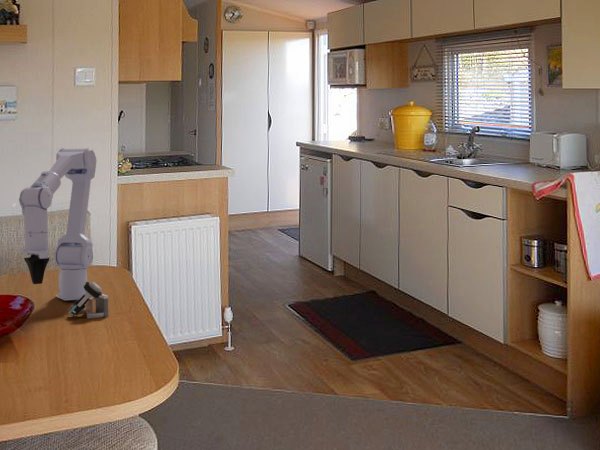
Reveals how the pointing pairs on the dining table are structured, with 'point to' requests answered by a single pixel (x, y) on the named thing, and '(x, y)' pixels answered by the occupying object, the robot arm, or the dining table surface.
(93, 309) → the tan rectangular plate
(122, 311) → the dining table surface
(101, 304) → the grey l-shaped bracket
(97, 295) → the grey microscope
